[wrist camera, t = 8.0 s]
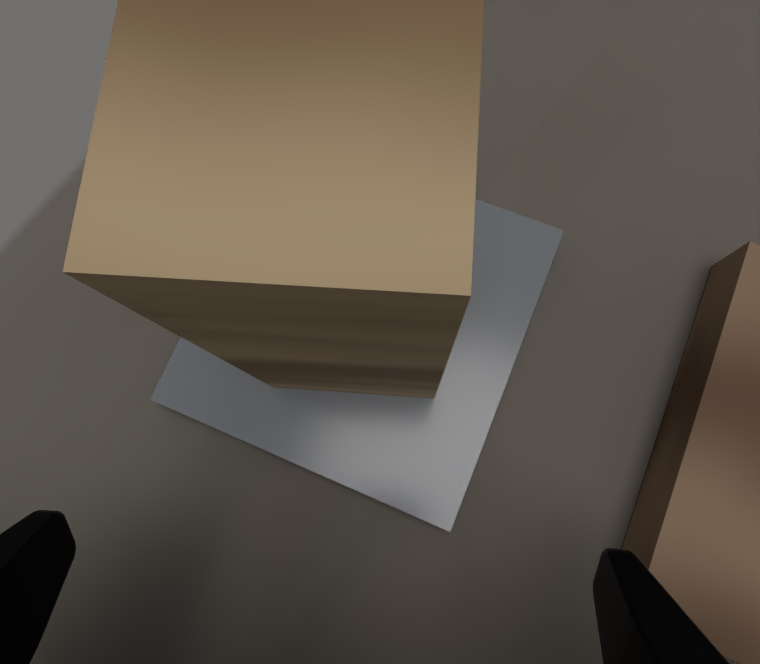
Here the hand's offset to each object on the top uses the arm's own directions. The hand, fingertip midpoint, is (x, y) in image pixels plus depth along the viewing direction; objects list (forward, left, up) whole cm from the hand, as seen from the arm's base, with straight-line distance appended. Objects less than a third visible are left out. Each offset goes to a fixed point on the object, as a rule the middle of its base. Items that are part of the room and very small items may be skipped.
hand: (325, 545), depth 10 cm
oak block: (+5, +2, -6) cm, 8 cm away
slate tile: (+5, +2, -7) cm, 9 cm away
